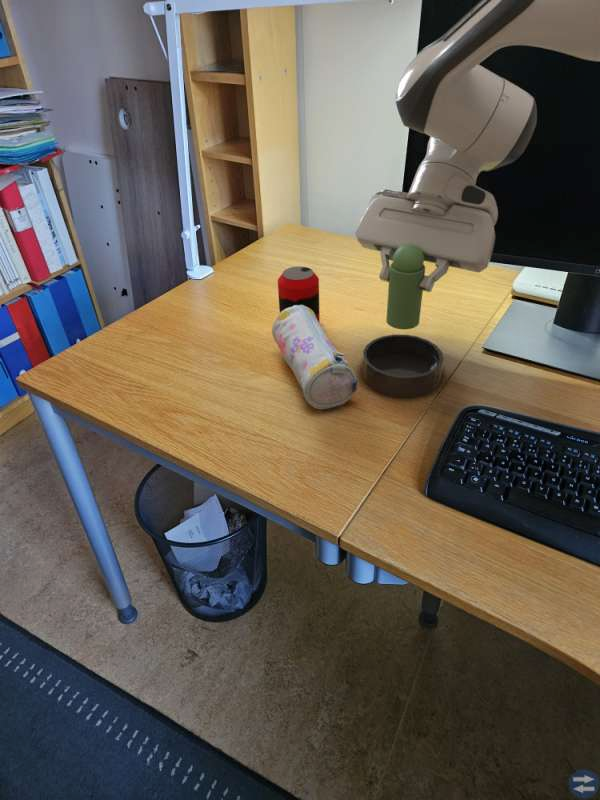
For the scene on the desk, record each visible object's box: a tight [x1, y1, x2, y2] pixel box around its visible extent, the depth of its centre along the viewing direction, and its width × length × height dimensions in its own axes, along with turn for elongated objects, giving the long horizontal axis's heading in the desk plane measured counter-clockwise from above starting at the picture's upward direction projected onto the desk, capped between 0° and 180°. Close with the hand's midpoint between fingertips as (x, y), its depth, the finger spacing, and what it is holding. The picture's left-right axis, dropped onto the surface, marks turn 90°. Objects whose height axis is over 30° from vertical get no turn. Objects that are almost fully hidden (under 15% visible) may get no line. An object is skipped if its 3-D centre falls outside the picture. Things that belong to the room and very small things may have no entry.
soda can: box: [277, 266, 321, 324], centre depth 105 cm, size 8×8×12 cm
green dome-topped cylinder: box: [385, 244, 426, 330], centre depth 82 cm, size 5×5×12 cm
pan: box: [361, 334, 445, 399], centre depth 94 cm, size 13×13×4 cm
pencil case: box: [271, 305, 358, 410], centre depth 93 cm, size 21×9×10 cm, turn 18°
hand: (404, 285), depth 82 cm, fingers closed on green dome-topped cylinder, 5 cm apart
